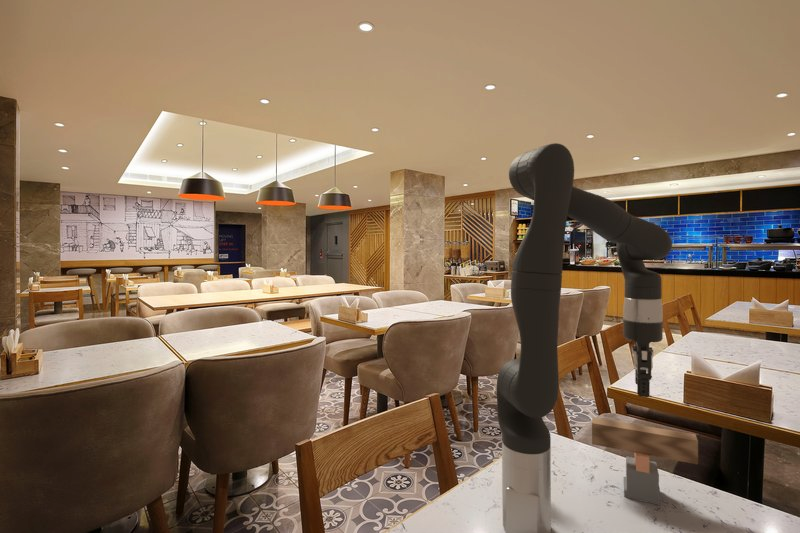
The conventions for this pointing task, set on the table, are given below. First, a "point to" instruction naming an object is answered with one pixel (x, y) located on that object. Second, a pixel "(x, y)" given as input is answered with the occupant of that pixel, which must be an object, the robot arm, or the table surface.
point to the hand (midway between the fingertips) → (642, 390)
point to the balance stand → (642, 479)
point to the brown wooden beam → (645, 440)
